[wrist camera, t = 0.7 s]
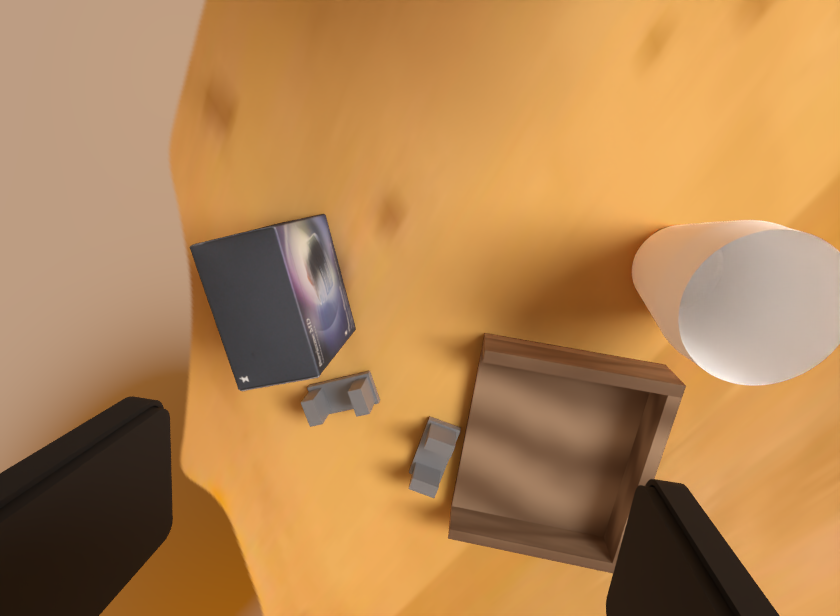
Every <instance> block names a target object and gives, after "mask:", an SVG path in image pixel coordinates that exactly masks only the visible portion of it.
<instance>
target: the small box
mask: <svg viewBox="0 0 840 616" xmlns="http://www.w3.org/2000/svg"><path fill="white" fill-rule="evenodd" d="M190 249H191V252H192V255H193V258H194V261H195V264H196V267H197V270H198V273H199V276H200V279H201V281H202V284H203V287H204V290H205V293H206V296H207V299H208V302H209V305H210V308H211V311H212V314H213V316H214V319H215V322H216V325H217V328H218V331H219V334H220V337H221V340H222V343H223V345H224V348H225V351H226V354H227V357H228V360H229V363H230V366H231V369H232V372H233V374H234V377H235V380H236V383H237V386H238V389H239V390H240V391H246V390H251V389H256V388H262V387H268V386H273V385H279V384H285V383H290V382H296V381H302V380H307V379H313V378H318V377H319V376H320V375H321V373H322V372H323V370H324V369H325V368H326V367H327V365H328V364H329V363H330V361H331V360H332V359H333V358H334V356H335V355H336V354H337V353H338V351H339V350H340V349H341V347H342V346H343V345H344V344H345V342H346V341H347V340H348V339H349V337H350V336H351V335H352V333H353V332H354V331H355V330H356V328H355V324H354V320H353V316H352V313H351V309H350V305H349V301H348V298H347V294H346V290H345V286H344V283H343V279H342V275H341V271H340V267H339V264H338V260H337V256H336V252H335V249H334V245H333V241H332V237H331V234H330V230H329V226H328V222H327V219H326V215H325V214H320V215H316V216H311V217H306V218H302V219H297V220H292V221H288V222H283V223H279V224H274V225H271V226H267V227H263V228H259V229H255V230H251V231H247V232H243V233H238V234H234V235H230V236H226V237H222V238H218V239H214V240H209V241H206V242H202V243H197V244H194V245H192V246H190Z"/></svg>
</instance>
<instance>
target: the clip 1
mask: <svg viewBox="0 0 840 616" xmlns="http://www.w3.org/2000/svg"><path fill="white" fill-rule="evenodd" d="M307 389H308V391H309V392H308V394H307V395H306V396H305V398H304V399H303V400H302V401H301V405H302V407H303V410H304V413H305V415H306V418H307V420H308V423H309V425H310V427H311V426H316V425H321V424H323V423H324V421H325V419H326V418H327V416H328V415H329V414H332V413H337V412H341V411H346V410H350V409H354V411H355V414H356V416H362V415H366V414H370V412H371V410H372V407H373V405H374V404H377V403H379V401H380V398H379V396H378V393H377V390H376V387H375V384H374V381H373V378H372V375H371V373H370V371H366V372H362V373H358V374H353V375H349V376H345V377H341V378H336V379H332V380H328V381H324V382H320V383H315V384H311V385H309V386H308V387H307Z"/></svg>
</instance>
